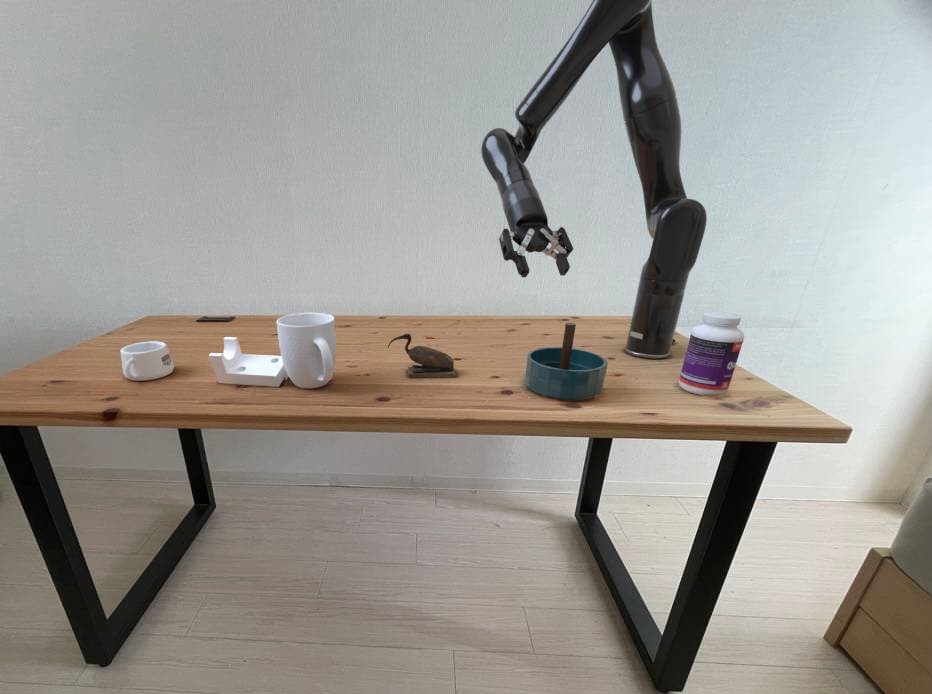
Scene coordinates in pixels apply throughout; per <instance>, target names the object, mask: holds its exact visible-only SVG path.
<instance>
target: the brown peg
mask: <svg viewBox="0 0 932 694" xmlns="http://www.w3.org/2000/svg"><path fill="white" fill-rule="evenodd" d="M576 327H577V324H576V323H575V322H565V324H564V331H563V337H562V338H563V339H562V345H561V347H562V351H561V358H560V365H559V369H565V370H569V366H570V360H571V353H572V348H573V347H574V339H575V333H576Z"/></svg>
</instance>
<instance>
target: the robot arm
mask: <svg viewBox="0 0 932 694" xmlns="http://www.w3.org/2000/svg"><path fill="white" fill-rule="evenodd" d="M656 38H657V37H656V31H655V25H654V16H653V5H652V0H592V1H591V3H590V5H589V7H588V8H587V10H586V12H585V14H584V15H583V17H582V18H581V20H580V22H579V23H578V24H577V26H576V28H575V29H574V31H573V32H572V33H571V35H570V37H569V38H568V39H567V41H566V42H565V43H564V45H563V46H562V48H561V49H560V50H559V52H558V53H557V54H556V55H555V57H554V58H553V59H552V61H551V62H550V64H549V65H548V66H547V67H546V68H545V70H544V71H543V73H542V74H541V75H540V76H539V78H538V79H537V80H536V81H535V83H534V84H533V85H532V87H531V88H530V89H529V91H528V92H527V93H526V95H525V96H523V98H522V100H521V101H520V103H519V104H518V105H517V107H516V109H515V110H514V118H515V120H516V122H517V123H518V128H517V130H516V133H515V134H512V133H511V132H509V131H508V130H507V129H505V128H502V127H495V128H493V129H491V130H489V131H488V132H486V133H487V134H485V136H484V138H483V140H482V143H481V148H480V153H481V158H482V161H483V163H484V165H485V167H486V169H487V171H488V173H489V174H490V176H491V178H492V180H493V181H494V182H495V184H496V186H497V191H498V193H499V196H500V200H501V203H502V209H503V213H504V215H505V218H506V221H507V225H508V228H503V230H502V232H501V234H500V235H499V237H498V241H499V245H500V249H501V253H502V258H503V260H504V261H506V262H509V261H512V262H513V263H514V265H515V267H516V270H517V274H518V275H519V276H520V277H521V278H527V277H528V275H529V274H530V266H529V264H528V261H527V258H526V255H524V253H525V252H527V253H534V252H535V253H543V254H545V255H546V256H547V257H549V256H550V257H551V258H552V259H553V260H555V262H554V263H555V265H556V267H557V270H558V273H559V275H560V276H561V277H562V276H563V277H564V276H565V275H567V274H568V272H569V270H570V268H571V266H570V265H571V264H570V263H569V260H568V257H569V256H570V254H571V253H572V252H573V251H574V246H573V245H572V242H571V240H570V237H569V235H568V233H567V231H566V228H565V227H563V226H560V227H559V228H558V229H556V230H552V228H550V226H549V220H548V215H547V212H546V210H545V207H544V204H543V201H542V198H541V196H540V194H539V191H538V189H537V188H536V186H535V184H534V181H533V179H532V174H531V173H530V171H529V169H528V167H527V166H526V165H525V163H526V162H527V160H528V159H529V156H530V155H531V152H532V151H533V149H534V147H535V145H536V143H537V141H538V139H539V137H540V135H541V133H542V131H543V129H544V128H545V127H546V125H547V124H549V122H550V121H551V120H552V118H553V117H554V115H555V114H556V113H557V112H558V111H559V109H560V108H561V107H562V106H563V104H564V103H565V102H566V100H567V99H568V97H569V96H570V95H571V93H572V92H573V90H574V89H575V87H576V86H577V84H578V83H579V81H580V80H581V79H582V77H583V76H584V74H585V72H587V70H588V69H589V67H590V66H591V64H592V63H593V61H594V60H595V59H596V58H597V56H598V55H599V54H600V53H601V52H602V50H603V49H605V47H606V46H607V45H609V48H610V51H611V55H612V57H613V61H614V65H615V69H616V76H617V85H618V93H619V100H620V107H621V112H622V118H623V122H624V125H625V131H626V135H627V139H628V143H629V146H630V149H631V150H630V151H631V153H632V157H633V158H632V159H633V161H634V164H635V168H636V172H637V174H638V177H639V181H640V184H641V188H642V195H643V203H644V212H645V221H646V229H647V232H648V234H649V236H650V237H651V239H652V244H651V247H650V250H649V255H648V257H647V260H646V261H645V262H644V264H643V265H642V266H641V271H640V277H639V282H638V286H637V292H636V296H635V300H634V306H633V311H632V316H631V320H630V325H629V330H628V335H627V339H626V345H625V346H624V352H625V353H627V354H629V355H631V356H635V357H638V358H643V359H655V360H656V359H659V360H661V359H667V358H669V357H670V356H671V350H672V349H671V348H672V346H673V344H674V343H676V338H675V334H676V329H677V325H678V321H679V316H680V313H681V309H682V305H683V302H684V298H685V297H684V296H685V292H686V288H687V285H688V279H689V276H690V272H692V269H693V268H694V267H695V265H696V262H697V259H698V256H699V253H700V250H701V246H702V243H703V239H704V236H705V233H706V227H707V221H708V217H707V216H708V214H707V210H706V208H705V206H704V205H703V203H701V202H700V201H698V200H697V199H693V198H688V196H687V193H686V191H685V186H684V184H683V180H682V175H681V168H680V166H681V165H680V161H681V160H680V159H681V146H682V119H681V112H680V107H679V102H678V97H677V93H676V89H675V85H674V82H673V80H672V77H671V75H670V72H669V69H668V68H667V65H666V62H665V61H664V58H663V57H662V54H661V52H660V49H659V47H658V42H657V39H656ZM513 242H514V243H516V244H517V245H518V248H517V250H515V249H514V245H513ZM549 244H550V245H551V246H550V247H548V246H549ZM674 338H675V339H674Z"/></svg>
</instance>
